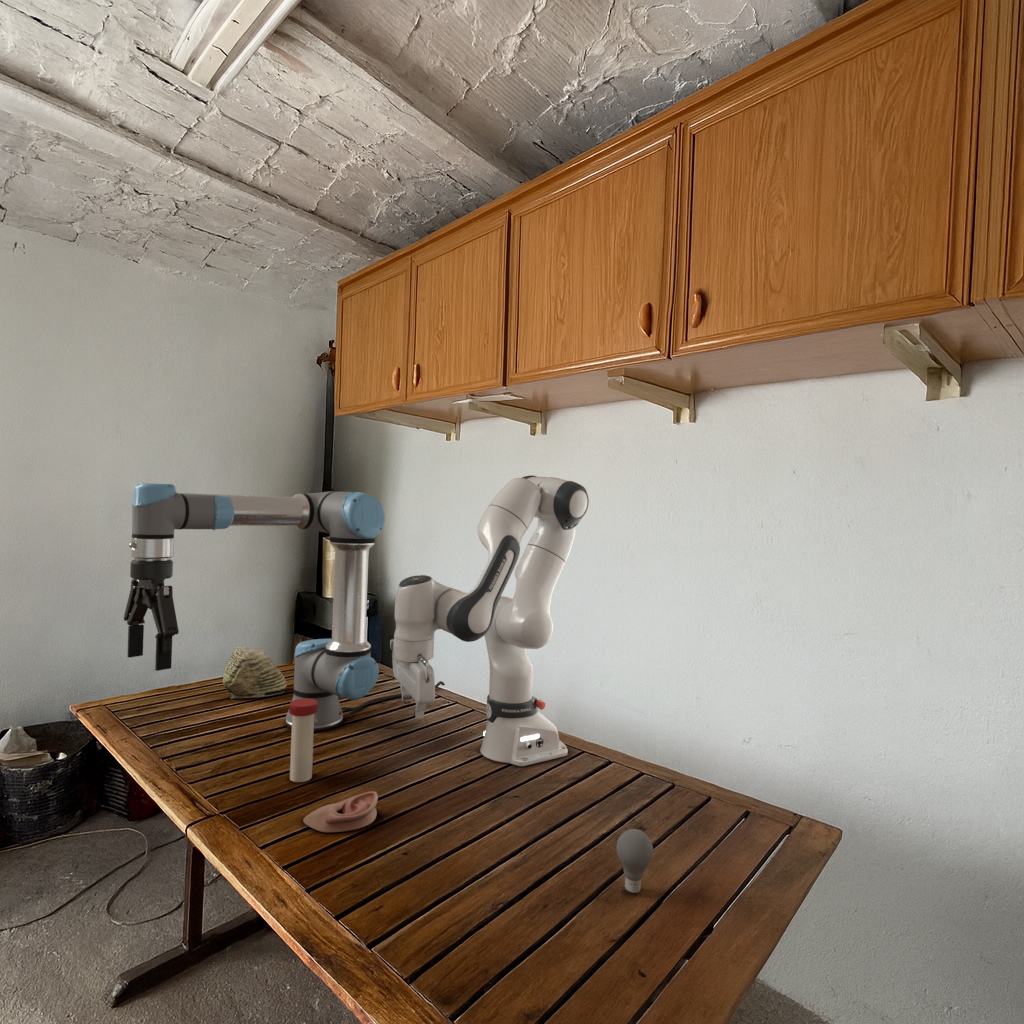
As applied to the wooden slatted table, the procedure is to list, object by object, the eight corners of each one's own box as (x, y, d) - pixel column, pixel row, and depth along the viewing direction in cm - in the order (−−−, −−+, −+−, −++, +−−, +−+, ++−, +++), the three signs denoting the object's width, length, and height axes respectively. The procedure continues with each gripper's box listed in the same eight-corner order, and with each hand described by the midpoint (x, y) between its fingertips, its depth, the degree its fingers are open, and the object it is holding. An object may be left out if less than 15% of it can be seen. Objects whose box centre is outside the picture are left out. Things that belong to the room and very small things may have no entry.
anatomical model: (295, 807, 120) (325, 781, 132) (294, 828, 121) (324, 800, 132) (360, 817, 118) (384, 790, 129) (359, 838, 118) (384, 809, 129)
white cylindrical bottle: (291, 783, 139) (294, 708, 139) (288, 774, 143) (291, 702, 143) (313, 780, 141) (316, 706, 141) (310, 771, 146) (312, 700, 145)
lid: (291, 717, 138) (291, 708, 138) (287, 709, 143) (287, 699, 143) (319, 714, 141) (319, 705, 141) (314, 706, 146) (315, 697, 146)
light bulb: (610, 879, 108) (613, 822, 108) (644, 879, 109) (647, 822, 109) (619, 902, 102) (622, 840, 102) (655, 901, 103) (658, 840, 103)
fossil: (218, 695, 195) (220, 647, 195) (278, 685, 208) (279, 640, 207) (228, 703, 189) (230, 653, 188) (289, 692, 201) (290, 645, 201)
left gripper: (108, 554, 134) (104, 654, 134) (159, 565, 118) (155, 678, 119) (146, 552, 140) (143, 648, 140) (199, 563, 124) (195, 671, 124)
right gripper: (443, 660, 133) (441, 725, 134) (414, 636, 151) (412, 693, 152) (414, 664, 130) (412, 729, 131) (388, 639, 148) (386, 696, 149)
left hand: (148, 662), depth 129 cm, fingers open, 13 cm apart
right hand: (412, 710), depth 142 cm, fingers open, 8 cm apart
